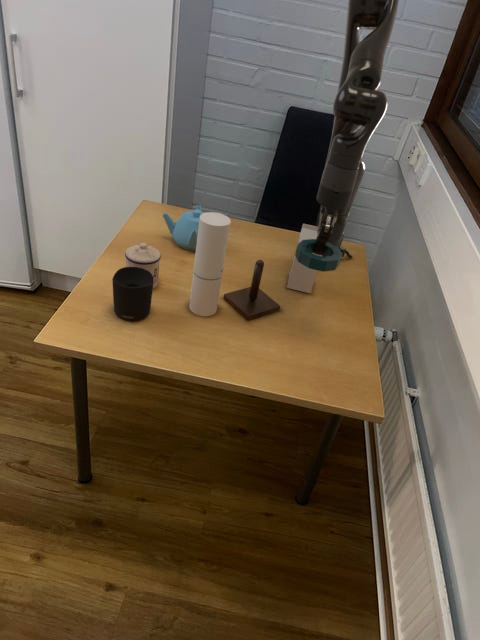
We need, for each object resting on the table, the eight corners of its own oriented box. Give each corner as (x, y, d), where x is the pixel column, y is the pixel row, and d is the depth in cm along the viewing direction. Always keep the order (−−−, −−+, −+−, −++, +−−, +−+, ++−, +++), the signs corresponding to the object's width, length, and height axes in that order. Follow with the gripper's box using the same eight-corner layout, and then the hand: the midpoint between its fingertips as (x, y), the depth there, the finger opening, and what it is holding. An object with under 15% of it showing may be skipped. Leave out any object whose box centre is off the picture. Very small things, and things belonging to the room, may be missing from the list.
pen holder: (104, 309, 114) (104, 274, 108) (135, 296, 120) (136, 262, 114) (128, 328, 110) (129, 292, 104) (159, 313, 116) (161, 279, 110)
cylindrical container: (220, 305, 123) (235, 217, 109) (210, 319, 117) (224, 228, 103) (195, 297, 124) (206, 209, 110) (184, 310, 119) (194, 220, 104)
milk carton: (310, 294, 135) (328, 234, 124) (286, 288, 136) (301, 228, 124) (312, 282, 141) (329, 224, 130) (289, 276, 141) (304, 218, 130)
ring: (316, 245, 118) (319, 235, 117) (348, 266, 112) (351, 256, 110) (286, 253, 112) (288, 243, 111) (317, 275, 106) (320, 264, 104)
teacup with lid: (157, 293, 123) (160, 254, 116) (122, 290, 122) (122, 250, 115) (161, 270, 132) (163, 233, 126) (128, 266, 131) (129, 229, 124)
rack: (254, 289, 132) (263, 246, 124) (279, 310, 126) (290, 266, 118) (223, 298, 126) (230, 253, 118) (247, 320, 119) (257, 275, 112)
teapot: (189, 258, 140) (193, 226, 134) (159, 237, 148) (161, 205, 142) (226, 247, 150) (231, 216, 144) (196, 228, 158) (199, 198, 151)
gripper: (322, 171, 111) (304, 236, 121) (319, 190, 100) (301, 260, 110) (353, 177, 111) (333, 242, 121) (354, 198, 99) (332, 268, 110)
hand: (317, 251), depth 115 cm, fingers closed on ring, 2 cm apart
